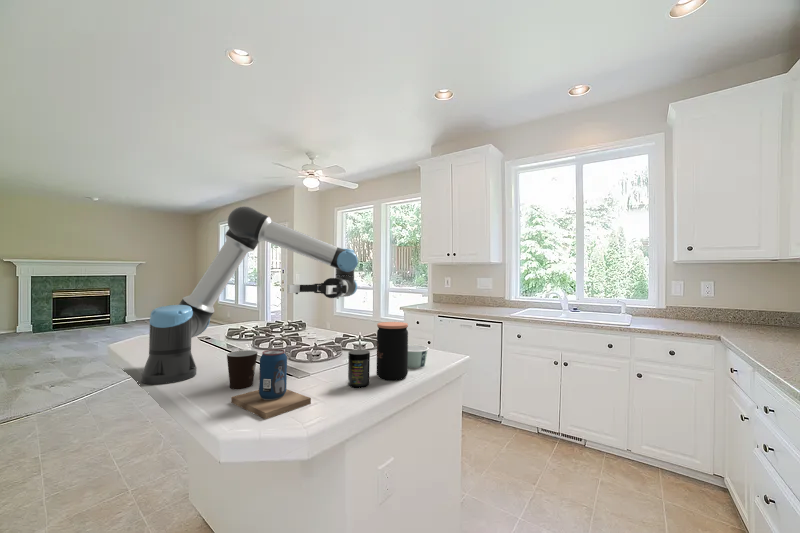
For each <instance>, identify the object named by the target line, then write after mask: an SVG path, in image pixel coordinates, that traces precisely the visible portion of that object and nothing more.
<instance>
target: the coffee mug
mask: <svg viewBox="0 0 800 533" xmlns="http://www.w3.org/2000/svg"><path fill="white" fill-rule="evenodd" d="M257 358H258V351H257V350H249V349H248V350H247V349H246V350H236V351H231V352H228V353H227V354H226V361H227V369H228V380H229V388H230V389H231V390H245V389H249V388H251V387H253V385H254V381H255V379H254V378H255V373H256V367H257Z"/></svg>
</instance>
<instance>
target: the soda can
mask: <svg viewBox="0 0 800 533" xmlns="http://www.w3.org/2000/svg"><path fill="white" fill-rule="evenodd" d="M285 352H286V351H285V350H284V349H267V350H264V351H262V353H261V356H260V357H259V372H258V374H259V375H258V377H259V379H258V380H259V381H258V382H259V383H258V390H259V394H260V396H261V398H262V399H264V400H276V399H279V398H282V397H283V396H284V394H285V392H286V389H287V388H288V387H287V384H288V383H287V382H288V381H287V380H288V379H287V377H288V373H287V372H288V370H287V369H288V356H287V355H286V353H285Z"/></svg>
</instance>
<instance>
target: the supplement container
mask: <svg viewBox="0 0 800 533" xmlns="http://www.w3.org/2000/svg"><path fill="white" fill-rule="evenodd" d="M347 357H348V362H347V365H348V367H347V370H348V371H347V374H348V375H347V384H348V386H349V388H351V389H358V390H359V389H364V388H368V386H369V384H370V376H371V375H370V366H371V365H370V364H371V363H370V361H371V359H370V358H371V351H369V350H367V349H354V350H349V351H348V356H347Z"/></svg>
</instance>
